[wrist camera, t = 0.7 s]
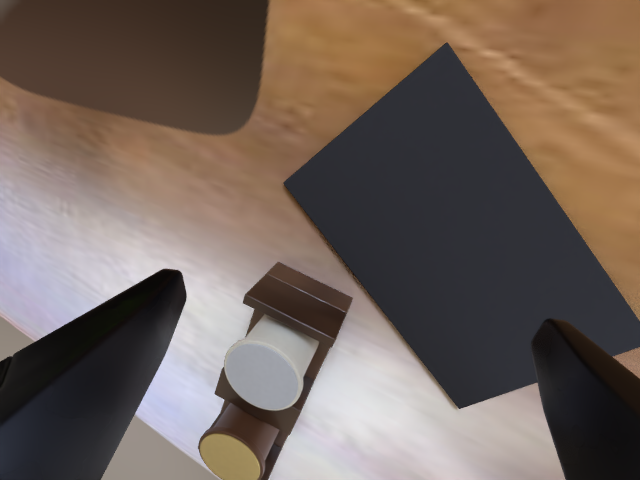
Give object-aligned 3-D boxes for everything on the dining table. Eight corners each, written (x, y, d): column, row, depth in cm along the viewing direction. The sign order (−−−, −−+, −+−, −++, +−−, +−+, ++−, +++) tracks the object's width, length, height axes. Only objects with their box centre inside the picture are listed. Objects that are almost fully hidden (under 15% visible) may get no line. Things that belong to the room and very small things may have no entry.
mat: (650, 338, 20) (654, 342, 19) (458, 405, 25) (459, 409, 25) (446, 43, 18) (447, 41, 18) (285, 182, 23) (282, 183, 23)
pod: (300, 421, 27) (276, 478, 23) (258, 439, 30) (229, 494, 25) (260, 374, 27) (228, 423, 23) (220, 395, 29) (184, 444, 25)
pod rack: (353, 297, 25) (335, 339, 20) (288, 433, 31) (264, 487, 27) (278, 261, 25) (244, 294, 21) (230, 400, 32) (197, 448, 27)
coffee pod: (338, 345, 24) (318, 395, 20) (287, 371, 26) (259, 422, 22) (292, 288, 23) (262, 328, 19) (244, 320, 26) (207, 361, 21)
